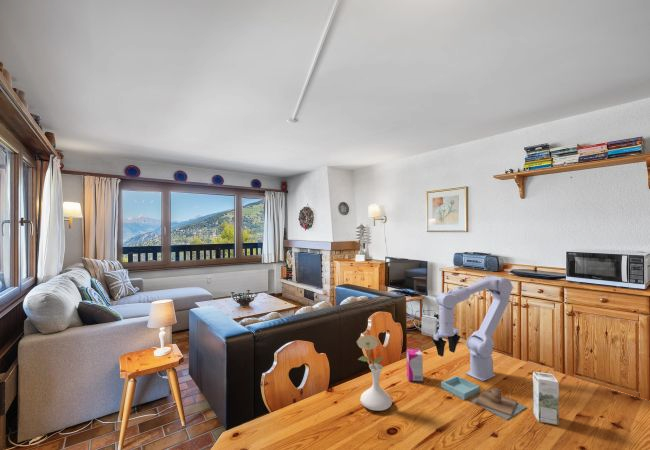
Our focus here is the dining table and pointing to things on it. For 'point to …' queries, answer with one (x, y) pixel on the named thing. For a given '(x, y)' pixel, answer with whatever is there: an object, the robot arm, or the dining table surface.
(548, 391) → the syrup box
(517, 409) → the mat
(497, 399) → the lid
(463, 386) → the dish
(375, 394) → the flower in vase
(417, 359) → the supplement box
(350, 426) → the dining table surface
